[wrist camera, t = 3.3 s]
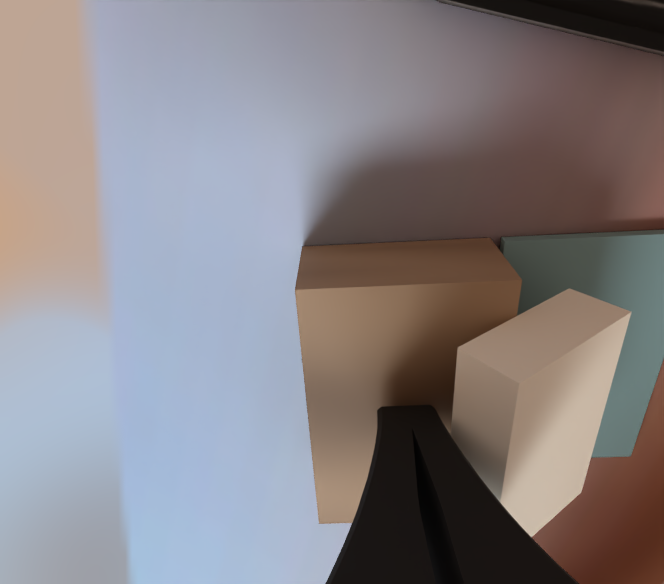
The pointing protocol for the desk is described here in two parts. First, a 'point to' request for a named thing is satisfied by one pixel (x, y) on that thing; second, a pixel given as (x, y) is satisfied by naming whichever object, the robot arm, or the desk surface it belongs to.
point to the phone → (586, 18)
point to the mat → (612, 287)
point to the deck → (387, 342)
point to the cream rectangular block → (537, 401)
